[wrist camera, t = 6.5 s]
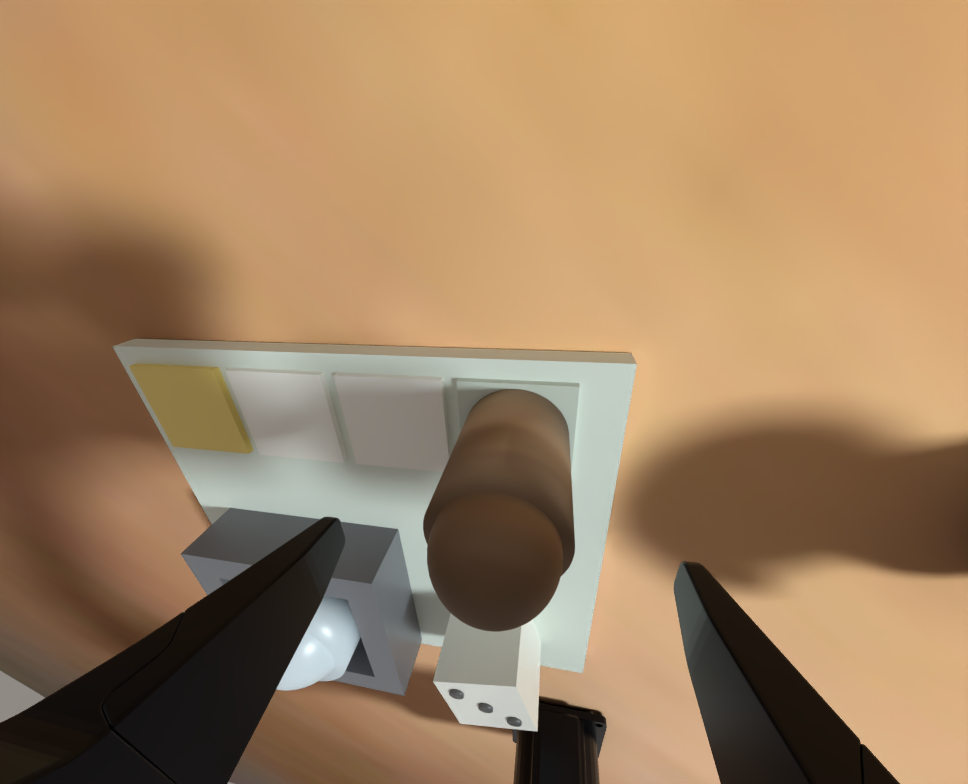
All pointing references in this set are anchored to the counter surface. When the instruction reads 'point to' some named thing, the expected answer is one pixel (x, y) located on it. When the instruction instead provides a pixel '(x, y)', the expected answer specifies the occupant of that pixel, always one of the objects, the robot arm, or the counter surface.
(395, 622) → the base
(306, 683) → the dome
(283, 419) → the board
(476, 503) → the pawn
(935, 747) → the counter surface
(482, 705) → the die
